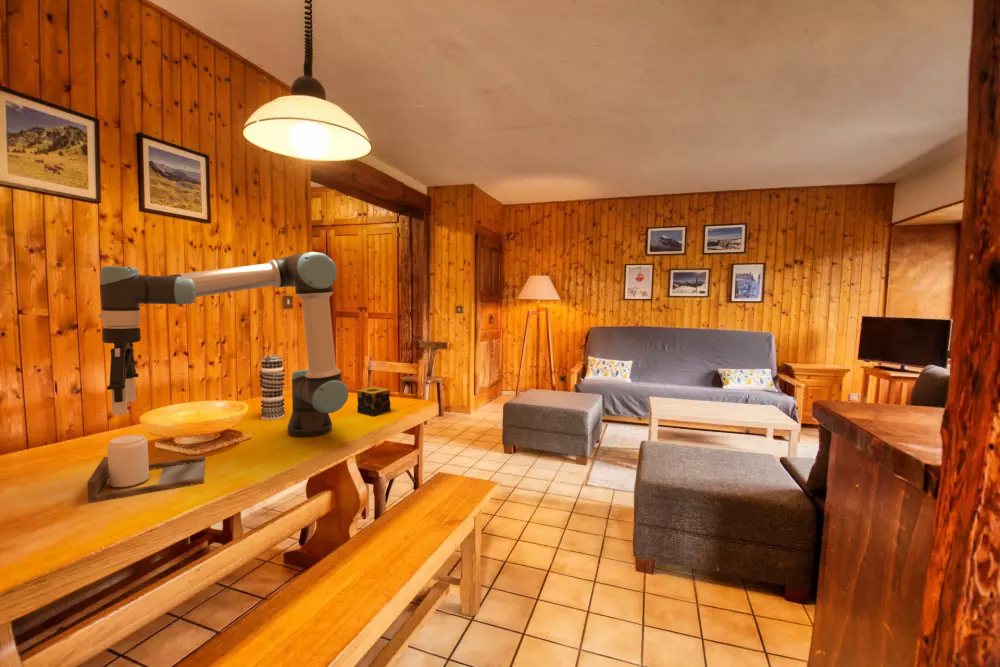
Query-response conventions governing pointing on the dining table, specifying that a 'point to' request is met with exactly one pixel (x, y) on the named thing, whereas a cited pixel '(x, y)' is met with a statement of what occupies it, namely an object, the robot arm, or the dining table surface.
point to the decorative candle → (272, 387)
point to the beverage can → (128, 460)
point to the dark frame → (168, 479)
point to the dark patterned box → (373, 401)
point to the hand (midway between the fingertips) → (124, 408)
